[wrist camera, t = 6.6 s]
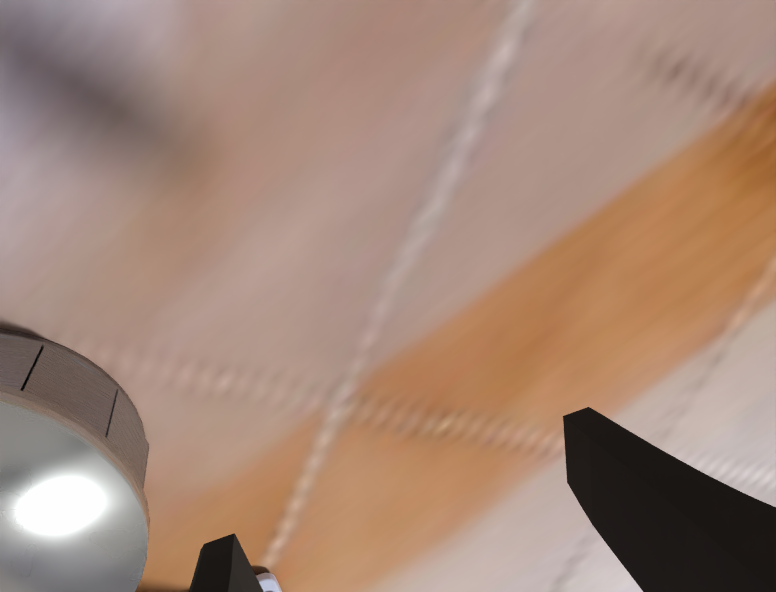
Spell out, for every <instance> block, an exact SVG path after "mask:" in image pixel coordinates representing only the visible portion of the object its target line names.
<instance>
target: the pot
mask: <svg viewBox="0 0 776 592" xmlns="http://www.w3.org/2000/svg"><path fill="white" fill-rule="evenodd" d="M0 384H2V385H5V386H8V387H11V388H14V389H18V390H21V391H24V392H27V393H30V394H32V395H35V396H37V397H39V398H42V399H44V400H46V401H49V402H51V403H53V404H56V405H58V406H60V407H61V408H63V409H65V410H67V411H68V412H70V413H72V414H74V415H75V416H77V417H79V418H81V419H82V420H84V421H85V422H86V423H88V424H89V425H90V426H92V427H93V428H95V429H96V430H97V431H99V432H100V433H101V434H103V435H104V436H105V437H106V438H107V439H108V440H109V441H110V442H111V443H112V444H113V445H114V446H115V447H116V448H117V449H118V450H119V451H120V452H121V453H122V455H123V456H124V457H125V459H126V460H127V461H128V463H129V464H130V465H131V467H132V468H133V470H134V472H135V473H136V475H137V477H138V479H139V481H140V483H141V485H142V487H144V480H145V473H146V465H147V458H148V451H149V444H148V442H147V440H146V438H145V433H144V429H143V425H142V421H141V419H140V417H139V414H138V412H137V410H136V408H135V406H134V405H133V403H132V401H131V400H130V398H129V397H128V395H127V394H126V393H125V391H124V390H123V389H122V388H121V387H120V386H119V384H118V383H117V382H116V381H115V380H114V379H113V378H111V377H110V376H109V375H108V374H107V373H106V372H105V371H104V370H102V369H101V368H100V367H98V366H97V365H95V364H94V363H92V362H91V361H89V360H88V359H87V358H85V357H83V356H81V355H79V354H77V353H76V352H74V351H72V350H70V349H68V348H66V347H63V346H61V345H58V344H56V343H53V342H51V341H48V340H46V339H42V338H39V337H35V336H32V335H28V334H25V333H20V332H15V331H9V330H4V329H0Z"/></svg>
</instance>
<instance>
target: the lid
mask: <svg viewBox="0 0 776 592" xmlns="http://www.w3.org/2000/svg"><path fill="white" fill-rule="evenodd" d="M149 528H150V517H149V510H148V503H147V500H146V496H145V493H144V490H143V487H142V485H141V483H140V481H139V479H138V477H137V475H136V473H135V472H134V470H133V468H132V467H131V465H130V464H129V463H128V461H127V460H126V459H125V457H124V456H123V455H122V453H121V452H120V451H119V450H118V449H117V448H116V447H115V446H114V445H113V444H112V443H111V442H110V441H109V440H108V439H107V438H106V437H105V436H104V435H103V434H101V433H100V432H99V431H97V430H96V429H95V428H93V427H92V426H90V425H89V424H88V423H86V422H85V421H84V420H82V419H81V418H79V417H77V416H75V415H74V414H72V413H70V412H68V411H67V410H65V409H63V408H61V407H60V406H58V405H56V404H53V403H51V402H49V401H46V400H44V399H42V398H39V397H37V396H35V395H32V394H30V393H27V392H24V391H21V390H18V389H14V388H11V387H8V386H5V385H2V384H0V592H135V591H136V589H137V586H138V584H139V582H140V580H141V578H142V574H143V571H144V567H145V563H146V558H147V550H148V541H149Z"/></svg>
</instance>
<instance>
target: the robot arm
mask: <svg viewBox="0 0 776 592" xmlns="http://www.w3.org/2000/svg"><path fill="white" fill-rule="evenodd" d="M563 421H564V437H565V453H566V469H567V483H568V484H569V486H570V488H571V489H572V491H573V493H574V495H575V496H576V498H577V500H578V502H579V503H580V505H581V507H582V508H583V510H584V512H585V513H586V515H587V516H588V518H589V520H590V521H591V523H592V525H593V526H594V527H595V529H596V530H597V531H598V533H599V534H600V535H601V537H602V538H603V539H604V541H605V542H606V543H607V545H608V546H609V547H610V549H611V550H612V551H613V553H614V554H615V555H616V557H617V558H618V559H619V560H620V562H621V563H622V564H623V566H624V567H625V568H626V570H627V571H628V572H629V573H630V575H631V576H632V577H633V579H634V580H635V581H636V583H637V584H638V585H639V587H640V588H641V589H642V590H643V592H776V507H773V506H771V505H769V504H766V503H764V502H762V501H759V500H757V499H755V498H753V497H751V496H748V495H746V494H744V493H742V492H740V491H738V490H736V489H734V488H732V487H730V486H728V485H726V484H724V483H722V482H720V481H718V480H716V479H714V478H712V477H710V476H708V475H706V474H704V473H702V472H700V471H698V470H697V469H695V468H693V467H691V466H689V465H687V464H686V463H684V462H682V461H680V460H678V459H677V458H675V457H673V456H671V455H669V454H668V453H666V452H664V451H662V450H660V449H659V448H657V447H655V446H654V445H652V444H650V443H648V442H647V441H645V440H643V439H642V438H640V437H638V436H637V435H635V434H633V433H631V432H630V431H628V430H626V429H625V428H623V427H621V426H620V425H618V424H617V423H615V422H613V421H612V420H610V419H608V418H607V417H605V416H603V415H602V414H600V413H598V412H597V411H595V410H593V409H591V408H590V407H587V408H585V409H582V410H579V411H576V412H573V413H571V414H568V415H565V416H563ZM189 592H282V590H281V588H280V586H279V584H278V582H277V579H276V577H275V576H274V575H273V574H271V573H262V574H259V575H255V573H254V571H253V569H252V567H251V565H250V563H249V561H248V559H247V557H246V555H245V553H244V551H243V549H242V547H241V545H240V543H239V541H238V539H237V537H236V535H235V533H234V534H231V535H228V536H226V537H223V538H220V539H217V540H214V541H212V542H209V543H206V544H204V546H203V547H202V549H201V551H200V555H199V558H198V562H197V566H196V569H195V573H194V576H193V580H192V583H191V586H190V590H189Z"/></svg>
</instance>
